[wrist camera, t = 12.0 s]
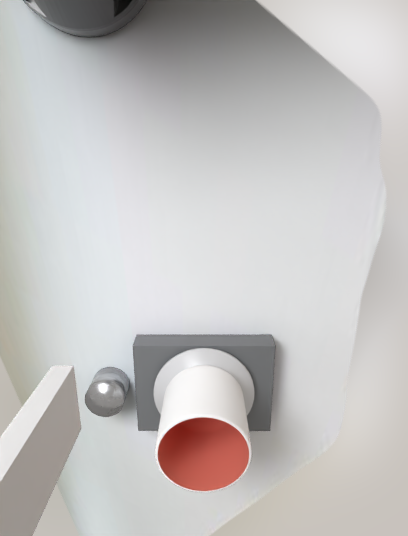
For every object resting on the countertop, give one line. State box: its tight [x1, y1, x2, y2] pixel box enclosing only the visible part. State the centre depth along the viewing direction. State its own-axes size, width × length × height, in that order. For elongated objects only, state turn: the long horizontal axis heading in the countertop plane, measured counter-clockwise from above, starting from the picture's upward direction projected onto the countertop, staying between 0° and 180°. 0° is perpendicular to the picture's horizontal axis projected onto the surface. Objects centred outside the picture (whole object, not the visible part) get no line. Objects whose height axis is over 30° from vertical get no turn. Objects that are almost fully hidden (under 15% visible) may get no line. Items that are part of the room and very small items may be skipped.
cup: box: [155, 365, 252, 492], centre depth 42 cm, size 10×10×10 cm
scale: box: [133, 335, 275, 431], centre depth 49 cm, size 13×18×4 cm
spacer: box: [85, 367, 129, 417], centre depth 49 cm, size 5×5×4 cm
